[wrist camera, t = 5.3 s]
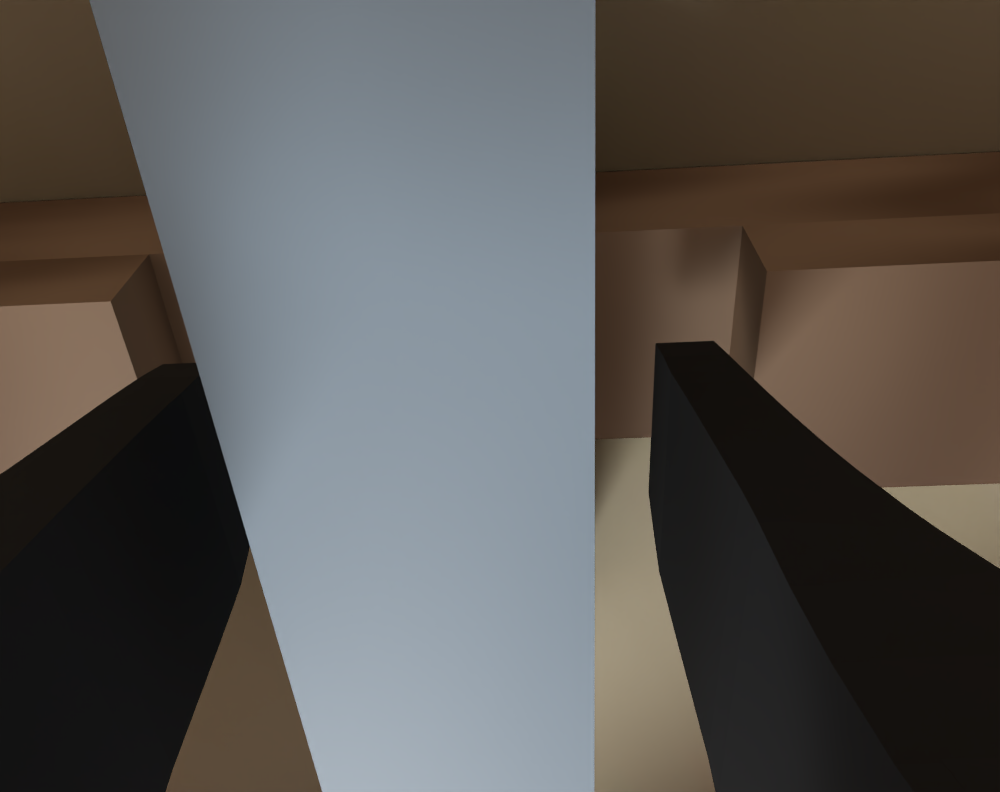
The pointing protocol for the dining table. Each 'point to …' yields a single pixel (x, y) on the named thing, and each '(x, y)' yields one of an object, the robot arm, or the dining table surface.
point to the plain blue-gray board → (394, 356)
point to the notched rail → (628, 303)
